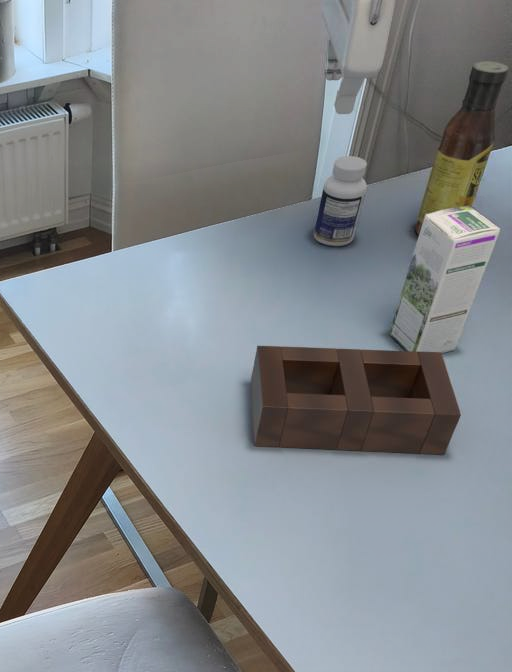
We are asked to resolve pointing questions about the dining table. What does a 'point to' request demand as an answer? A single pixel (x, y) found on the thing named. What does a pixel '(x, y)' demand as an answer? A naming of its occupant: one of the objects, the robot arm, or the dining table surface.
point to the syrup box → (443, 279)
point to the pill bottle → (341, 202)
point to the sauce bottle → (465, 144)
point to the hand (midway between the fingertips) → (337, 94)
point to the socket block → (352, 400)
